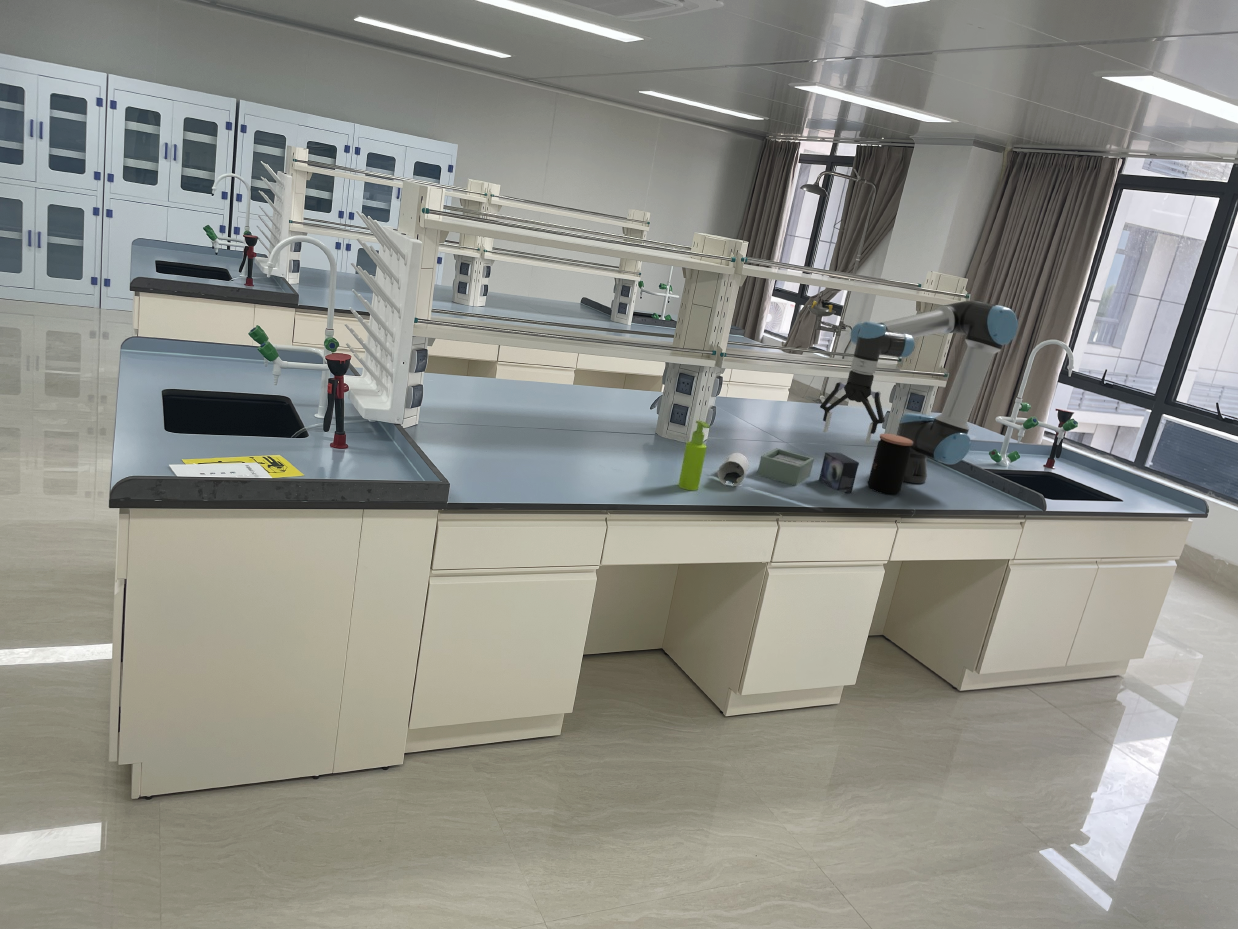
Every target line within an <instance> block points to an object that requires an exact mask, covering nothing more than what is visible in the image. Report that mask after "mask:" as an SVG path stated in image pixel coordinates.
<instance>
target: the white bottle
mask: <svg viewBox="0 0 1238 929" xmlns="http://www.w3.org/2000/svg"><path fill="white" fill-rule="evenodd" d="M749 468H750V462H749V461H748V458H747V457H746V456H745V455H744V454H742V453H740V452H733V453H731V454H729V455H728V456H727V458H726V459H725V460H724V462H723V463H722V464H721V465H720V466H719V468H718V470H717V478H718V480H719V481H720V483H721V484H722V485H723V486H726V484H725V483H726V481H727V480H728V479H725V477H726V476H727V474H730V473H737V474H738V475H739V477H738V476H737V478H736V482H735V481H732V482H733V483H734V484H733V486H732V487H736V486H739V485H741V484H742V483H743V481H744V479H745V477H746V475H747V472H748V471H749Z"/></svg>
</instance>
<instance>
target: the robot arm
mask: <svg viewBox="0 0 1238 929" xmlns="http://www.w3.org/2000/svg"><path fill="white" fill-rule="evenodd" d="M1018 325H1019V322H1018V319H1017V315H1016V313H1015V311H1013V310H1012V309H1011V308H1008V307H1007V306H1003V305H998V304H993V303H987V302H982V301H977V300H963V301H959V302H958V301H957V302H954V303H948V304H944V305H940V306H939V307H937V308H936V309H935V310H932V311H931V310H930V311H927V312H923V313H922V312H921V313H918V314H914V315H910V316H903V317H900V318H899V317H898V318H895V319H891V320H886V321H882V322H881V321H880V322H871V321H864V322H858V323H856V324H855V325H854V326H853V327H852V329H851V330H850V341H851V342H852V344H854V345H855V348H854V353H853V356H852V360H851V365H850V369H851V370H850V371H849V373H848V377H847V381H846V384H844V383H842V382H836V384H835V385H834V388H833V390H832V391H831V392H830V393H829V394H828V395H827V396H826V398H825V399H824V400H823V401H822V403H821V404H820V405H819V408H820V409H822V410H823V411H824V414H823V418H822V421H823V422H825V423H824V427H823V431H822V432H823V433H825V434H826V433H827V432H829V428H830V427H829V426H830V422H831V419H832V415H833V412H832V411H831V410H833V409H834V408H836V407H837V406H838V405H840V404H841V403H842V402H845V401H846V400H847V399H848V400H849V401H851V402H856V403H862V405H863V406H864V409H865V410H866V411H867V414H868V416H869V418H870V420H871V422H870V423H869V426H868V431H867V434H866V437H865V442H864V443H865V444H867V445H868V444H870V441H871V436H872V435H875V434H876V431H877V428H878V425H879V424H884V423H885V415H884V412H883V408H882V402H881V391H872V385H873V381H874V378H875V376H874V374H875V373H876V371H877V367H878V366H877V365H878V363H879V358H880V356H886V357H887V356H888V357H893V358H894V357H896V358H898V359H899V358H908V357H910V356H911V355H912V353H913V352H914V349H915V340H914V339H917V338H921V337H925V336H930V335H934V334H939V333H940V334H943V335H947V334H960V335H966V336H965V338H964V339H965V340H964V341H965V343H966V345H967V348H966V350H965V352H964V355H963V358H962V359H961V362H960V364H959V368H958V371H957V372H956V376H955V378H954V381H953V382H952V383H953V384H952V385H951V388H950V390H949V394H948V396H947V398H946V401H945V403H944V407H943V409H942V411H941V414H940V415H937V416H934V415H927V414H923V413H912V412H906V413H904V414H902V416H901V419H900V422H899V425H898V428H897V429H898V430H897V433H896V435H898V436H901V437H905V438H908V439H910V440H912V441H913V445H911V447H910V448H911V453H910V457H909V461H908V464H907V468H906V472H905V476H904V479H903V482H906V483H911V484H925V483H926V481H927V479H928V478H927V477H928V473H927V472H928V470H927V457H929V458H930V459H933V460H935V461H936V462H938V463H943V464H945V465H956V464H957V463H959V462H961V461H963V460H964V458H966V456H967V455H968V453H969V452H970V449H971V445H972V442H971V438H970V436H969V435H968V433H969V431H970V427H969V425H968V420H969V418H970V416H971V413H972V410H973V408H974V405H975V403H976V400H977V398H978V395H979V393H980V390H981V388H982V386H983V383H984V380H985V377H986V376H987V372H989V371H988V370H989V368H990V365H991V363H992V360H993V358H994V355H995V354H998V353H999V352H1001V351H1002V349H1003V346H1004V345H1008V344H1009V343H1011V341H1013V340H1014V339H1015V337H1016V335H1017V332H1018V327H1019V326H1018ZM841 390H844V392H845V394H843V395H842V396H840V398H838V399H836V400H835V401H834V402H833V403H831V404H830V405H829V406H828V404H829V403H830V402H831V401H832V399H834V397H836V395H837V394H838V392H839V391H841ZM870 396H871V397H872V399H874V405H875V410H876V412H875V411H874V409H873V407H872V405H871V403H870V400H869V399H868V397H870ZM876 414H877V415H876Z"/></svg>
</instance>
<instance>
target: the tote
mask: <svg viewBox="0 0 1238 929" xmlns="http://www.w3.org/2000/svg"><path fill="white" fill-rule="evenodd" d="M779 454H783V455H787V456H790V457H794V458H797V459H801V460H805V462H803V463H802V464H800V465H794V464H791V463H787V462H784V461H780V460H776V459H773V457H775V456H777V455H779ZM814 462H815V458H814V457H810V456H806V455H802V454H799V453H795V452H792V451H788V450H785V449H782V448H777V447H776V448H774V449H772V450H770V451H768V452H766V453H765V454H761V456H760V460H759V464H758V470H757V474H756V475H757V476H760V477H763V478H766V479H771V480H775V481H778V482H781V483H785V484H788V485H792V486H795V487H797V486H798V485H799V484H801V483H803V482H804V481H806V480H807V479H809V478H810V476H811V473H812V469H813V465H814Z"/></svg>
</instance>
